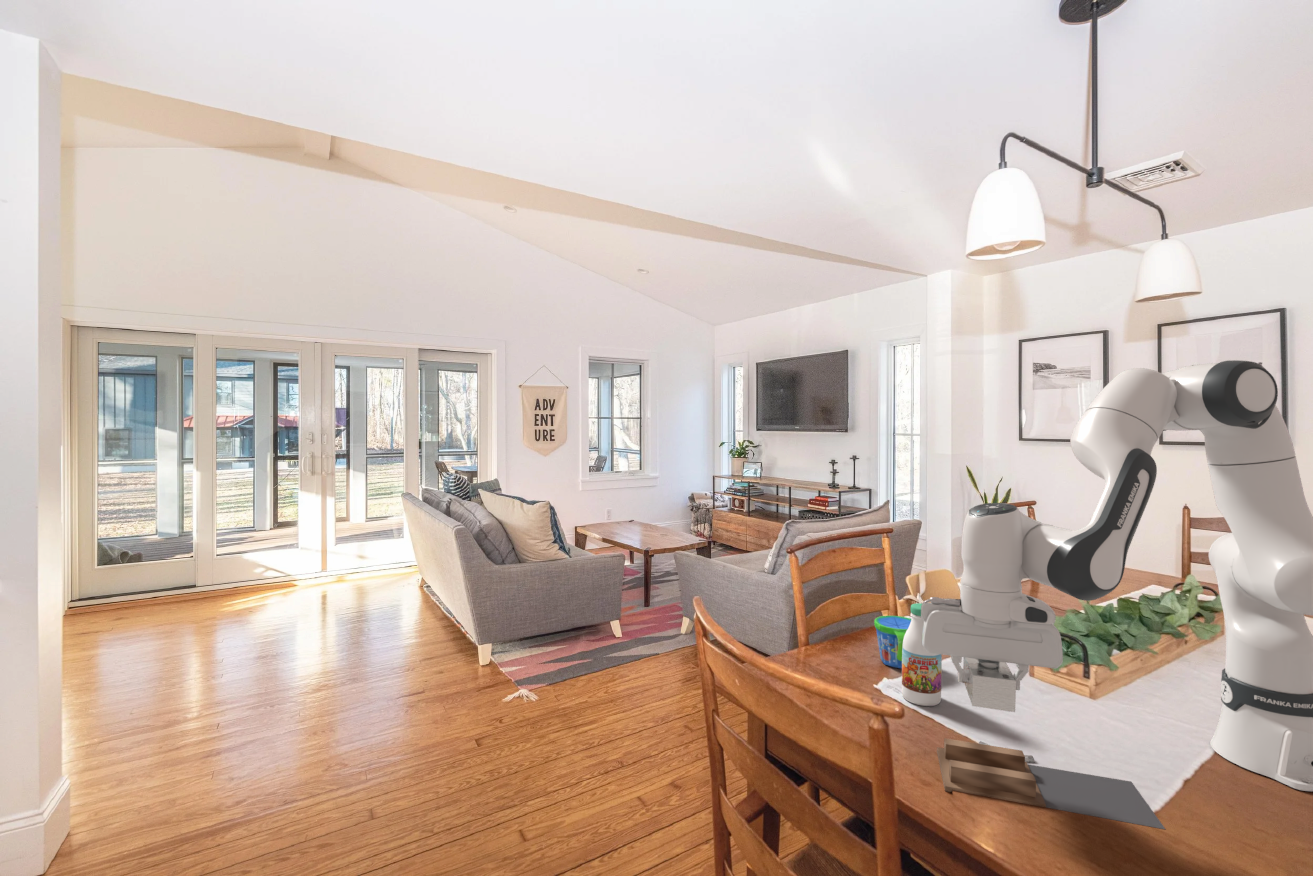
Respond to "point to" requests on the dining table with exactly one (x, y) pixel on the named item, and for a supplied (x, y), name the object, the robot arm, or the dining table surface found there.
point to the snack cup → (891, 638)
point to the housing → (990, 684)
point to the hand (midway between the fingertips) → (988, 685)
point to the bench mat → (1093, 796)
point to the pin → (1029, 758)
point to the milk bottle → (919, 665)
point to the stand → (988, 772)
